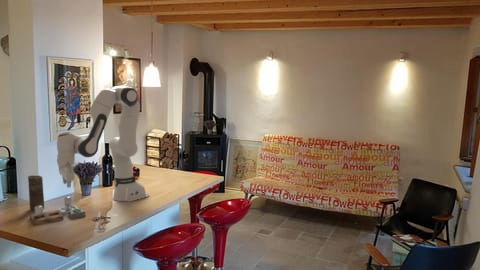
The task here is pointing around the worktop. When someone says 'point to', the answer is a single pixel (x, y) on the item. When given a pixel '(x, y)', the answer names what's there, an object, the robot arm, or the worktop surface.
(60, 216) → the wooden holder frame
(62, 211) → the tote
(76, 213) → the grey square holed block
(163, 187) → the worktop surface
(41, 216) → the seated billet
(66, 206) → the cylinder
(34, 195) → the brown rounded piece
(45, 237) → the worktop surface
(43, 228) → the worktop surface
